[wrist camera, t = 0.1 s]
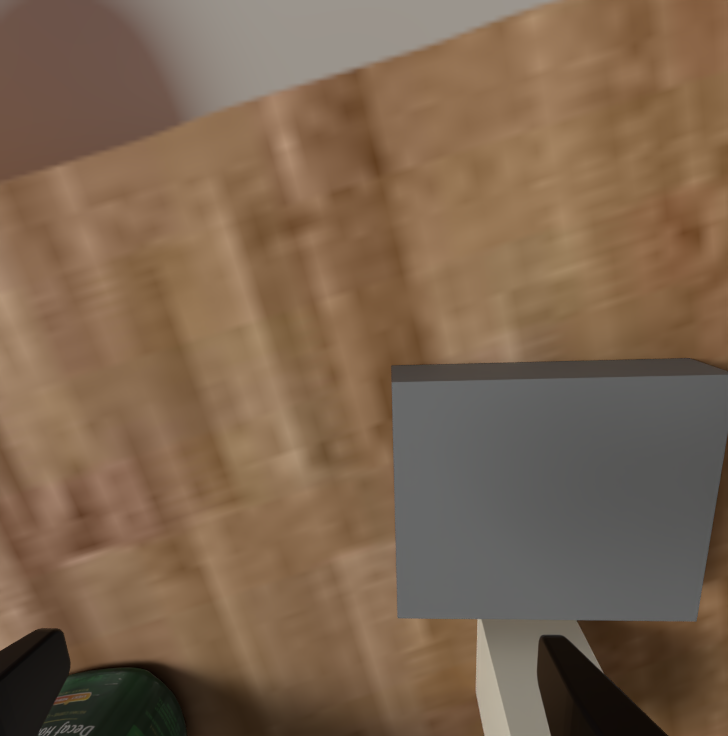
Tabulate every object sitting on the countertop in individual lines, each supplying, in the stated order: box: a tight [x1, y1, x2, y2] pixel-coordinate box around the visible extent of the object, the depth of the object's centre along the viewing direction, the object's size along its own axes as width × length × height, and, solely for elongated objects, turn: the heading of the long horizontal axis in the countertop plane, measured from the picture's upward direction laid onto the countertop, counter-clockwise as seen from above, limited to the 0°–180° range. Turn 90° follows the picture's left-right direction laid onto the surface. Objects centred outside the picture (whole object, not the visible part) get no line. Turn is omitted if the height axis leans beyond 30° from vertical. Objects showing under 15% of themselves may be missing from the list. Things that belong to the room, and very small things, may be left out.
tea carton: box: [476, 619, 603, 736], centre depth 22 cm, size 6×5×8 cm
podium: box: [391, 358, 728, 621], centre depth 21 cm, size 12×14×3 cm
